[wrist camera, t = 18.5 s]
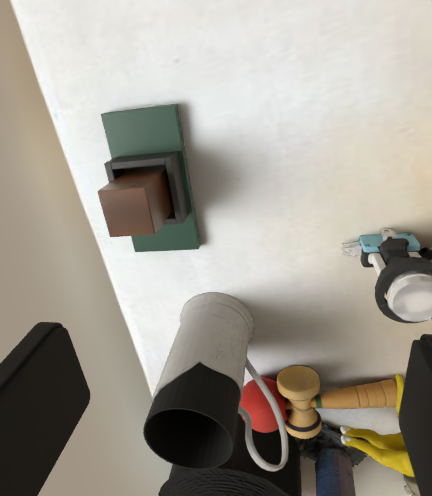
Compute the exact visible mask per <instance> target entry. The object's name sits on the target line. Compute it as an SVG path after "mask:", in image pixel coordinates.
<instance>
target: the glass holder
mask: <svg viewBox="0 0 432 496" xmlns="http://www.w3.org/2000/svg"><path fill="white" fill-rule="evenodd" d="M253 330H254V322H253V318H252V316H251V314H250V312H249V310H248V309H247V308H246V307H245V306H244V305H243V304H242V303H241V302H240V301H238V300H237V299H235V298H233V297H231V296H229V295H226V294H222V293H203V294H200V295H197V296H195V297H193V298H191V299H190V300H189V301H188V302H187V303H186V304H185V305H184V307H183V309H182V311H181V314H180V327H179V330H178V332H177V335H176V337H175V340H174V343H173V345H172V348H171V351H170V353H169V356H168V358H167V361H166V364H165V366H164V369H163V371H162V374H161V377H160V379H159V382H158V385H157V387H156V390H155V392H154V395H153V398H152V406H151V409H150V412H149V414H148V417H147V419H146V422H145V425H144V432H143V433H144V437H145V440H146V442H147V444H148V446H149V447H150V448H151V449H152V450H153V451H154V452H155V453H156V454H157V455H158V456H159V457H161V458H163V459H164V460H166V461H167V462H170V463H172V464H174V465H177V466H180V467H183V468H188V469H198V470H203V469H211V468H215V467H218V466H220V465H222V464H223V463H225V462H226V461H227V460H228V459H229V458H230V457H231V455H232V453H233V448H234V440H235V432H236V424H237V416H238V413H239V414H241V415H242V416H243V417H244V419H245V423H246V429H245V440H246V445H247V448H248V451H249V453H250V455H251V457H252V458H253V460H254V461H255V462H256V463H257V464H258V465H259V466H260V467H261V468H263V469H265V470H267V471H277V470H279V469H281V468H283V467H284V465H285V463H286V462H287V460H288V451H289V450H288V436H287V432H286V427H285V423H284V420H283V417H282V414H281V411H280V409H279V407H278V404H277V402H276V400H275V398H274V397H273V395H272V393H271V392H270V391H269V389H268V388H267V386H266V385H265V383H264V382H263V380H262V379H261V377H260V376H259V375H258V373H257V372H256V370H255V369H254V367H253V366H252V365H251V363H250V361H249V360H248V358H247V348H248V341H249V340H250V339H251V336H252V334H253ZM245 366H246V368H247V370H248V371H249V373H250V374H251V375H252V377H253V378H254V380H255V381H256V382H257V384H258V385H259V387H260V388H261V390H262V391H263V393H264V395H265V396H266V398H267V399H268V401H269V403H270V405H271V407H272V409H273V412H274V414H275V417H276V420H277V423H278V425H279V430H280V435H281V442H282V458H281V463H280V464H279V465H272V464H269V463H267V462H266V461H264V460H263V459H262V458H261V456H260V455H259V454H258V452H257V450H256V448H255V446H254V444H253V439H252V420H251V416H250V414H249V413H248V412H247V411H246V410H245V409H244V408H243V407H241V406H239V404H240V402H241V398H242V391H243V382H244V373H245Z"/></svg>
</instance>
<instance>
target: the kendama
mask: <svg viewBox="0 0 432 496" xmlns="http://www.w3.org/2000/svg"><path fill="white" fill-rule="evenodd" d="M261 379H262V380H263V382H264V383H265V385H266V386H267V388H268V389H269V391H270V392H271V393H272V395H273V397H274V398H275V400H276V402H277V404H278V407H279V409H280V411H281V414H282V417H283V420H284V423H285V427H286V430H287V432H288V433H289V434H291V435H293V436H295V437H297V438H302V439H306V438H307V439H308V438H311V437H314V436H316V435H317V434H318V433H319V432H320V430H321V423H322V420H321V416H320V414H319V413H318V412H317V411H316V410H315V409H314V408H332V409H354V408H368V407H369V408H376V407H396V402H397V384H396V382H395V381H394V380H393V379H389V380H384V381H380V382H374V383H371V384H370V383H368V384H363V385H357V386H355V387H354V386H351V387H345V388H340V389H335V390H331V391H327V392H323V393H320V394H317V393H318V392H319V390H320V382H319V376H318V374H317V373H316V372H315V371H314V370H312V369H310V368H308V367H304V366H291V367H287V368H285V369H283V370H282V371H281V372H280V373H279V374H278V376H277V382H276V381H274V380H272V379H269V378H261ZM239 406H241V407H243V408H244V409H245V410H246V411H247V412H248V413H249V414H250V416H251V420H252V429H254V430H256V431H258V432H262V433H268V432H273V431H275V430H277V429H279V425H278V423H277V420H276V417H275V414H274V412H273V409H272V407H271V405H270V403H269V401H268V399H267V398H266V396H265V395H264V393H263V391H262V390H261V388H260V387H259V385H258V384H257V382H256V381H255V380H252V381H250V382H249V383H247V384H246V385H245V386H244V388H243V391H242V398H241V402H240V404H239ZM241 416H242V415H241ZM242 418H243V420H244V422H245V419H244V417H243V416H242Z"/></svg>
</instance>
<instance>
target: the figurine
mask: <svg viewBox="0 0 432 496" xmlns="http://www.w3.org/2000/svg"><path fill="white" fill-rule="evenodd" d="M396 381H397V402H396V408H397V415H398V419H399V409H400V404H401V399H402V394H403V389H404V381H403V378H402V376H401V375H400V374H396ZM340 430H341V432H342V434H343V436H341V441H342V443H343V444H344V445H346V446H353V447H356V448H358V449H360V450H362V451H364V452H366V453H367V454H369V455H370V456H371V457H373V458H374V459H375V460H376V461H377V462H379V463H381V464H383V465H385V466H387V467H390V468H392V469H395V470H397V471H399V472H401V473H402V474H404V475H407V476H411V477H415V476H414V473H413V470H412V466H411V463H410V460H409V456H408V453H407V450H406V447H405V443H404V440H403V437H402V433H401V432H400V433H398V434H389V435H379V434H378V433H376V432H375V431H372V430H369V429H355V428H352V427H348V426H341V428H340ZM349 436H352V437H349ZM354 437H362V438H364V439H366V440H368V441H369V442H370V443H371V444H370V443H368V442H365V441H363V440H359V439H356V438H354Z"/></svg>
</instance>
